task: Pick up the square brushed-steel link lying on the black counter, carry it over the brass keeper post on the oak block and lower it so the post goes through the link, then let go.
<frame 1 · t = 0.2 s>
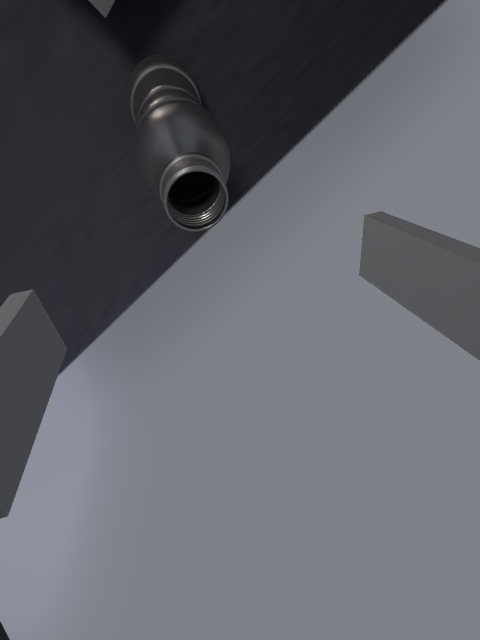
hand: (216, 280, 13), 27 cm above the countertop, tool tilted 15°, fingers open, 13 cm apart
plastic bottle: (162, 94, 30), on the countertop
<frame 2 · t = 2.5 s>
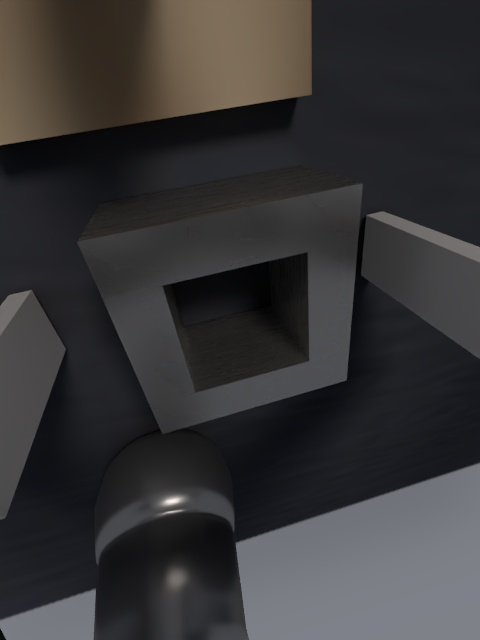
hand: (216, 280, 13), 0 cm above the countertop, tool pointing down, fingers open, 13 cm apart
plastic bottle: (164, 450, 18), on the countertop
link: (221, 275, 13), on the countertop
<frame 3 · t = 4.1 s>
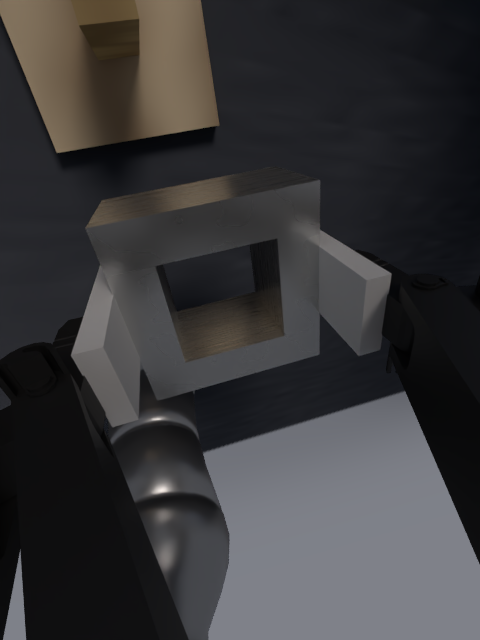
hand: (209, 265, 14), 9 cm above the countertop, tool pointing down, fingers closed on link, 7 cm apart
plastic bottle: (150, 357, 26), on the countertop
link: (209, 264, 14), point 8 cm above the countertop, touching gripper
keeper post: (113, 36, 16), on the countertop
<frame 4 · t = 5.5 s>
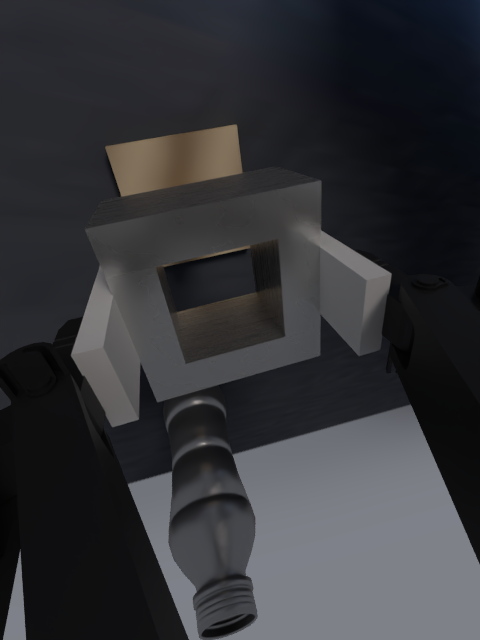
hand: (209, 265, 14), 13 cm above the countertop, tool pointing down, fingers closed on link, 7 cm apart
plastic bottle: (191, 389, 35), on the countertop
link: (209, 264, 14), point 13 cm above the countertop, touching gripper
keeper post: (186, 201, 24), on the countertop
when the fingers open (3 cm above the countertop, at t = 7.2 s): link drops 1 cm, resting on keeper post.
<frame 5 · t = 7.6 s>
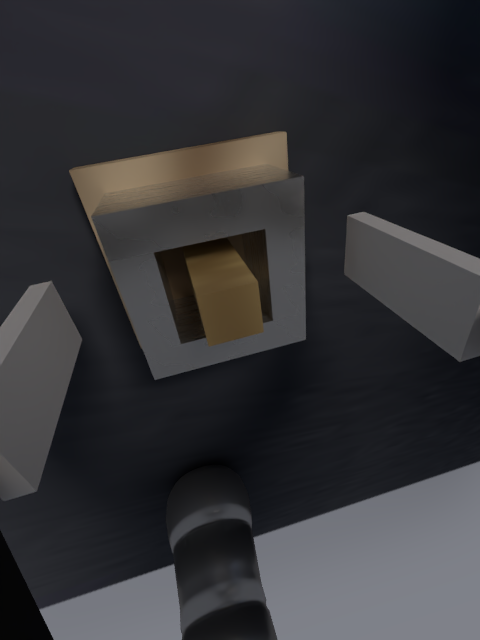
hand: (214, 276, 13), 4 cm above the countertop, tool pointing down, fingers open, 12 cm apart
plastic bottle: (202, 476, 27), on the countertop
link: (204, 254, 15), point 1 cm above the countertop, touching keeper post
keeper post: (201, 247, 16), on the countertop
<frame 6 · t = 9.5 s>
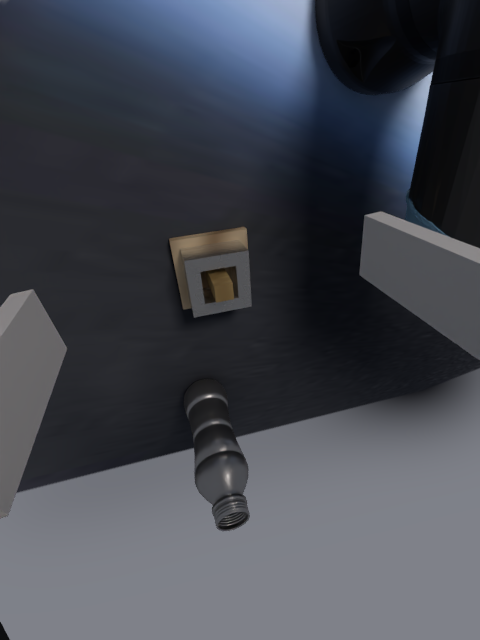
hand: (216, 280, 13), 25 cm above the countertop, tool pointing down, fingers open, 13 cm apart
plastic bottle: (202, 388, 49), on the countertop
link: (213, 271, 38), point 1 cm above the countertop, touching keeper post
keeper post: (212, 268, 39), on the countertop
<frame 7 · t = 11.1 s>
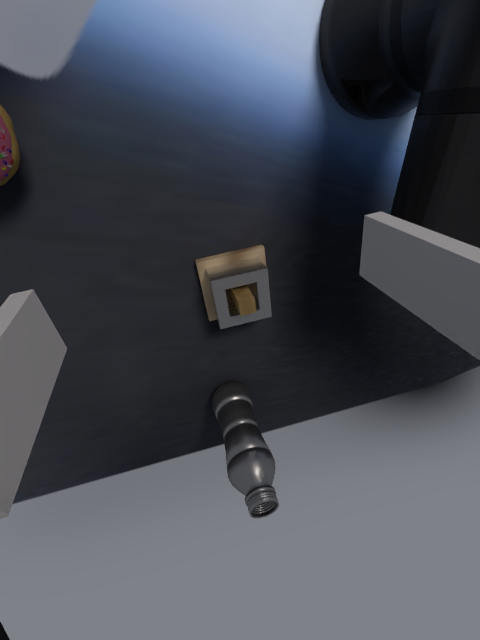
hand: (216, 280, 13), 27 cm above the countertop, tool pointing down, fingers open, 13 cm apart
plastic bottle: (228, 390, 54), on the countertop
link: (235, 286, 42), point 1 cm above the countertop, touching keeper post
keeper post: (234, 282, 43), on the countertop
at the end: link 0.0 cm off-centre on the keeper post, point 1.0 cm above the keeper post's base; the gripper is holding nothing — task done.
